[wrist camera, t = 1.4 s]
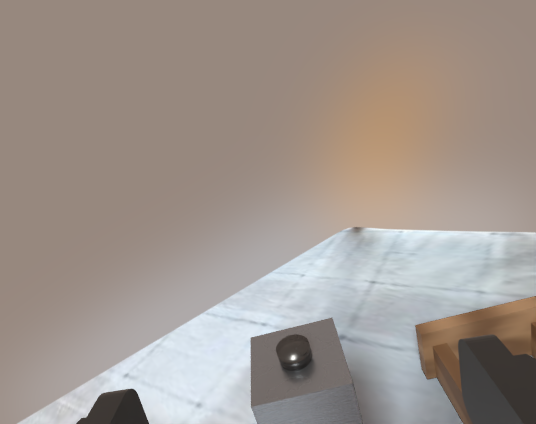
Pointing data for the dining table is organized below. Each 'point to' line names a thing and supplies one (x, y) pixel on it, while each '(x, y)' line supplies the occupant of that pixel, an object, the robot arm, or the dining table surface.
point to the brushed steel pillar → (302, 377)
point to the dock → (473, 325)
